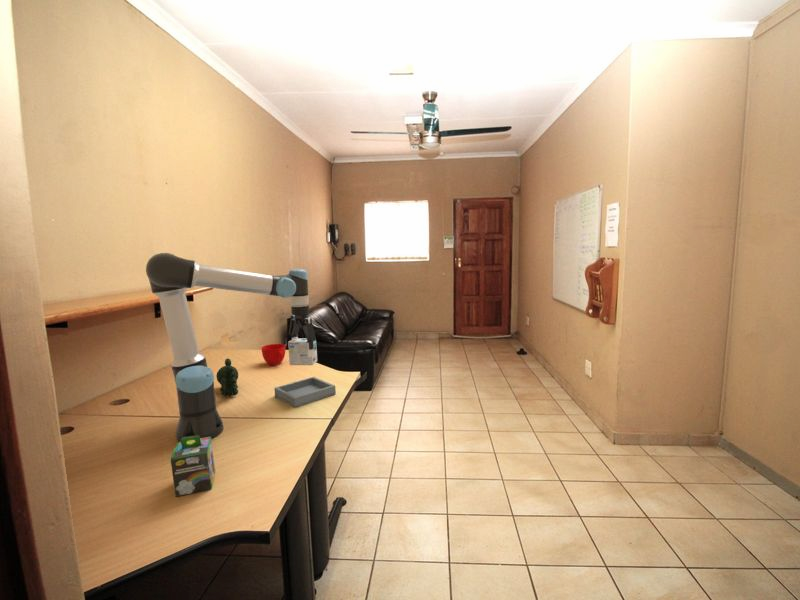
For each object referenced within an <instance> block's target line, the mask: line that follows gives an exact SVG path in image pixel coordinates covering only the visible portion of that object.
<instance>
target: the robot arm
mask: <svg viewBox="0 0 800 600" xmlns="http://www.w3.org/2000/svg"><path fill="white" fill-rule="evenodd" d="M145 273H146V276H147V278H148V281H149V285H150V288H151V292H152V294H153V295H155V296H156V297H158V300H159V304H160V308H161V312H162V316H163V320H164V324H165V327H166V331H167V336H168V339H169V343H170V348H171V351H172V355H173V358H174V360H172V362H171V364H170V366H171V369H172V373H173V374H172V375H173V377H174V381H175V382H174V383H175V389H176V394H177V404H178V412H179V418H178V422H177V425H176V429H175V438H176V441H177V442H178V443H179V442H181V439H182V438H185V437H191V436H197V435H198V436H200V438H204V437H210V436H211V439H213V438H215V437H217V436H219V435H220V434H221V433H222V432H223V431H224V422H223V420H222V417H221V415H220V414H219V412H218V409H217V404H216V403H217V401H216V391H215V382H214V381H215V375H214V372H213V370H212V368H210V367H209V366H208V362H207V359H206V355H205V354H202V353H201V352H200V349H199V345H198V339H197V336H196V332H195V328H194V323H193V320H192V316H191V311H190V307H189V303H188V299H187V295H186V291H187V290H188V289H192V288H194V287H203V288H209V289H210V288H211V289H217V290H219V289H220V290H227V291H233V292H234V291H235V292H241V293H249V294H250V293H251V294H257V295H268V296H272V297H273V296H274V297H280V298H283V299H286V298H290V305H291V307H290V309H291V310H290V311H291V315H290V321H289V323H290V324H289V328H288V335H289V336H290V338H291V340H292V339H294V338H295V339H299V337H298V336H299V331H300V329H301V330H302V331H303V334H304V335H305V338H307V357H312V356H314V347H313V342H314V341H316V342H317V337H316V332H315V330H314V325H313V320H312V317H309V318H308V315H309V314H310V305H309V303H310V300H309V299H310V298H309V282H308V281H309V279H308V271H306V269H290V270H289V271H288V274H285V275H284V274H283V275H272V274H271V275H269V274H264V273H256V272H251V271H245V270H240V269H239V270H238V269H232V268H231V269H230V268H224V267H220V266H219V267H218V266H211V265H205V264H201V263H200V264H199V263H198V262H197V261H196V260H193V259H186V258H183V257H179V256H176V255H175V254H173V253H170V252H169V253H168V252H161V253H157V254H154V255H152V256H151V257H150V258H149V259H148V261H147V263H146V266H145Z"/></svg>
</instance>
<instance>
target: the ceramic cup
mask: <svg viewBox="0 0 800 600" xmlns="http://www.w3.org/2000/svg"><path fill="white" fill-rule="evenodd" d="M261 353H262V358H263V360H264V362H265V363H266V364H267V365H269V366H277V365H280V364H282V362H283V360H284V359H285V355H286V345H285V344H283V343H273V344H266V345H263V346H261Z"/></svg>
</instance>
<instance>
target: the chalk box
mask: <svg viewBox="0 0 800 600" xmlns="http://www.w3.org/2000/svg"><path fill="white" fill-rule="evenodd" d="M170 466H171V474H172V480H173V489H174V495H175V497H176V498H177V497H180V496H185V495H191V494H195V493H199V492H200V493H201V492H205V491H210V490H212V488H213V484H214V480H215V476H216V475H215V474H216V467H215V458H214V450H213V442H212V438H211V436H210V437H204V438H200V436H198V435H197V436H191V437H185V438H182V439H181V442H179V441H178V442H177V443H176V445H175V446H174V449H173V450H172V454H171V457H170Z"/></svg>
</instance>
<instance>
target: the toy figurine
mask: <svg viewBox="0 0 800 600" xmlns="http://www.w3.org/2000/svg"><path fill="white" fill-rule="evenodd" d="M238 379H239V371H238V369H237V368H236V367H235V366H232V360H231V359H230V358H228V357H227V358H226V359H225V361H224V366H222V367H220V368H219V369H218V370H217V372H216V380H217V383H218V384H220V386H221V387H220V388H219V389H220V392H221V395H222V396H223V397H228V396H229V395H233V396H237V395H238V393H239V390H238V388H239V385H238Z"/></svg>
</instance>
